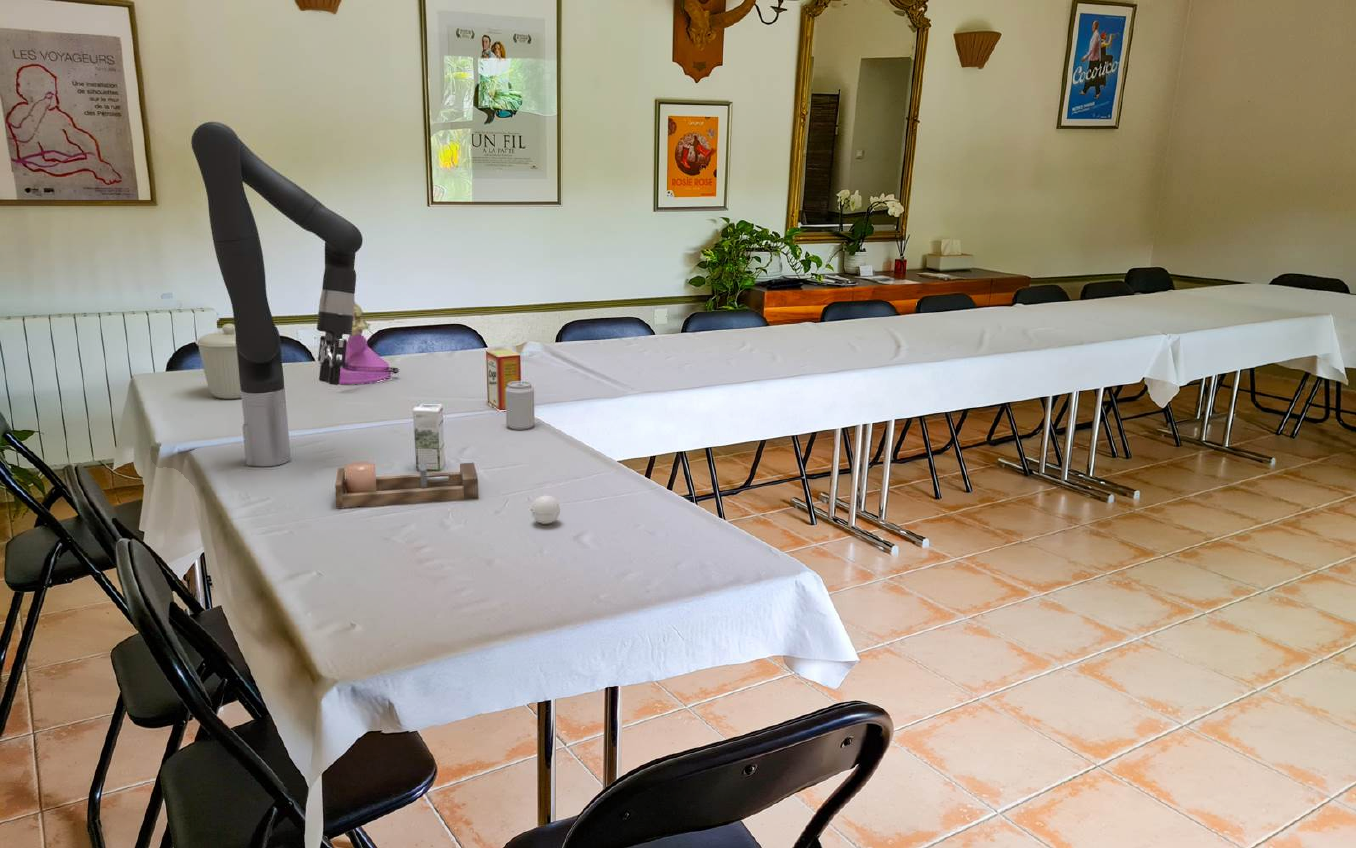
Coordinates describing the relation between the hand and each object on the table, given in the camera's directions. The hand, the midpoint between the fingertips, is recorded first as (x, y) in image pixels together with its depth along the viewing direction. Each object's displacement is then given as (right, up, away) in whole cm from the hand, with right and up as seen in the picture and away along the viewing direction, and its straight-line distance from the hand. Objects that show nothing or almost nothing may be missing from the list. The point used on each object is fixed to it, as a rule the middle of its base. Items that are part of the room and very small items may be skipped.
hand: (328, 383), depth 221 cm
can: (+38, -10, +37) cm, 54 cm away
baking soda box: (+30, -5, +57) cm, 64 cm away
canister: (-50, -1, +63) cm, 80 cm away
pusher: (+28, -24, -14) cm, 39 cm away
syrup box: (+23, -20, +3) cm, 30 cm away
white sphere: (+53, -29, -30) cm, 67 cm away
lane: (+22, -24, -16) cm, 36 cm away
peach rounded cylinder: (+13, -25, -18) cm, 33 cm away
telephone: (-19, +4, +83) cm, 86 cm away
